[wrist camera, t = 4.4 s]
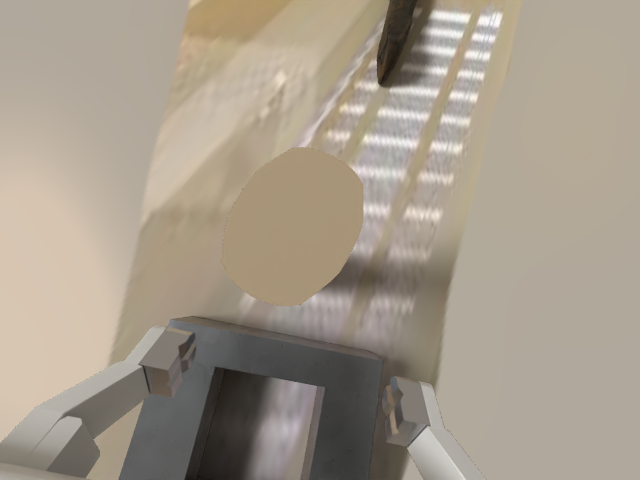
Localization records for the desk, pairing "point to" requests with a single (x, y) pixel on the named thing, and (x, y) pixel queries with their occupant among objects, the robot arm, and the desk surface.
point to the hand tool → (394, 36)
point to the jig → (273, 361)
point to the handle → (293, 226)
